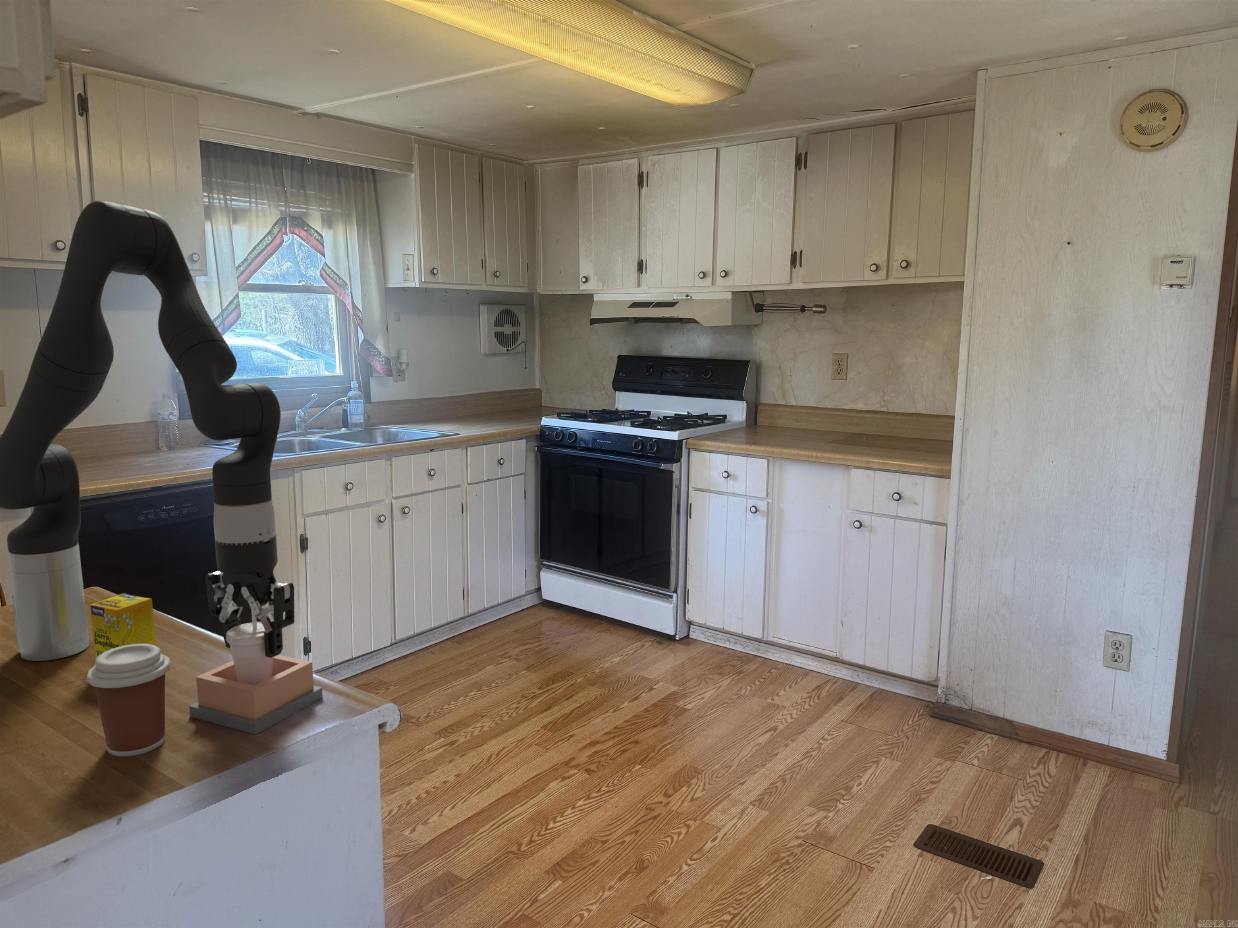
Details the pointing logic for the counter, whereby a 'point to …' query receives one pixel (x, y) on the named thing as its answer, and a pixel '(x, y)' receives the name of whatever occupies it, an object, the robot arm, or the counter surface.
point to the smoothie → (249, 652)
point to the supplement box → (122, 622)
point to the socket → (255, 695)
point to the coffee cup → (131, 697)
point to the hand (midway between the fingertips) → (253, 650)
